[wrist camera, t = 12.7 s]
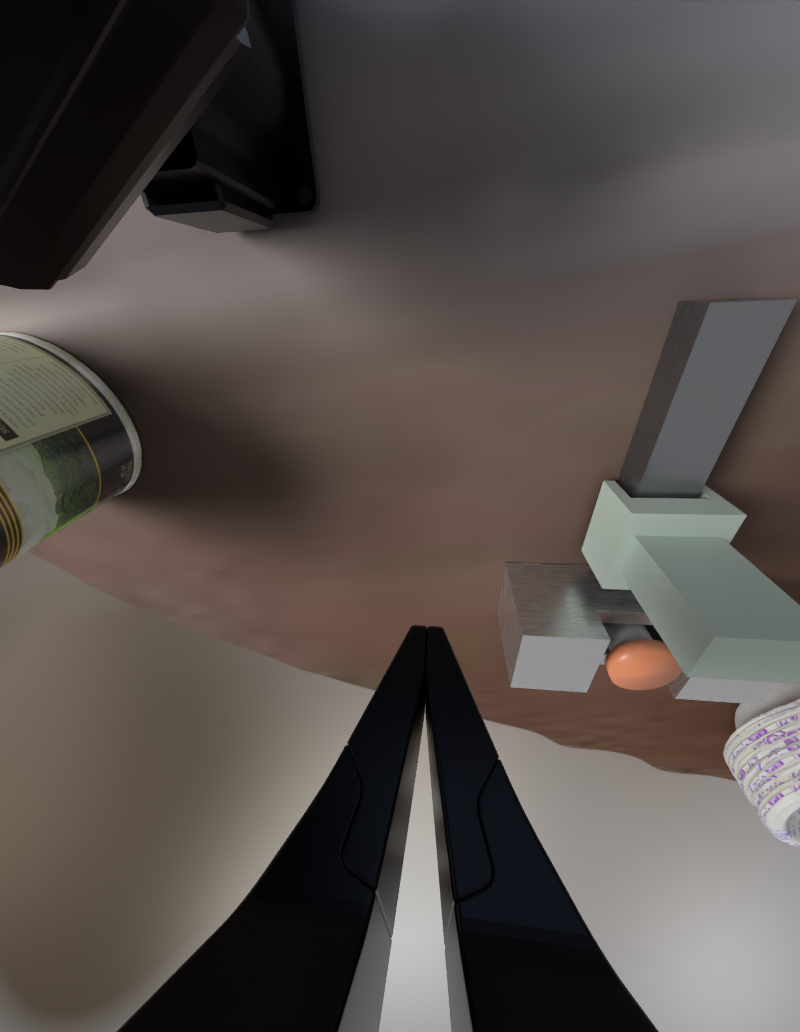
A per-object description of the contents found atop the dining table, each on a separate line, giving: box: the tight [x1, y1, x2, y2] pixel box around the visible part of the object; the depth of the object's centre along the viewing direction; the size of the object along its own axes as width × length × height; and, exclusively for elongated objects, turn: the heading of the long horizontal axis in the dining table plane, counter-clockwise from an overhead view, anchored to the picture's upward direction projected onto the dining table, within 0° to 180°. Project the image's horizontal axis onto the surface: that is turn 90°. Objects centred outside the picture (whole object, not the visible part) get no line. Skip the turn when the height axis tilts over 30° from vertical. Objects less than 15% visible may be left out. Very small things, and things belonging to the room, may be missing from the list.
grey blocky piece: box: [497, 562, 780, 704], centre depth 22 cm, size 5×14×6 cm, turn 93°
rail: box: [617, 298, 797, 499], centre depth 18 cm, size 14×3×2 cm, turn 3°
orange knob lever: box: [603, 623, 682, 690], centre depth 21 cm, size 4×4×5 cm
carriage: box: [581, 481, 800, 684], centre depth 16 cm, size 5×5×9 cm
